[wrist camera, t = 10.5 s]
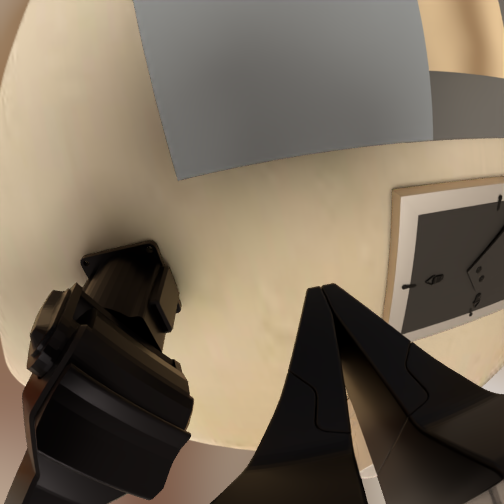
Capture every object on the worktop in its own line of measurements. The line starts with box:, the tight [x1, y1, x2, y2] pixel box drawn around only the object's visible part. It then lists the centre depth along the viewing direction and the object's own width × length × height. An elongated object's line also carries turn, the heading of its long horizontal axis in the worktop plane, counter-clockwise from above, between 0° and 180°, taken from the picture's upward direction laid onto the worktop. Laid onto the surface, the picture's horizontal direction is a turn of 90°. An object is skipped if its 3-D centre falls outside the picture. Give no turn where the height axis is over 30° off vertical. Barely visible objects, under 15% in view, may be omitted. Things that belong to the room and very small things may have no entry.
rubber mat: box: [405, 0, 504, 143], centre depth 13 cm, size 14×18×1 cm
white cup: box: [347, 398, 377, 478], centre depth 30 cm, size 8×8×10 cm
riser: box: [133, 0, 433, 181], centre depth 12 cm, size 14×16×4 cm
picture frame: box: [382, 176, 504, 342], centre depth 23 cm, size 16×3×21 cm
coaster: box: [417, 0, 504, 78], centre depth 12 cm, size 8×8×2 cm
